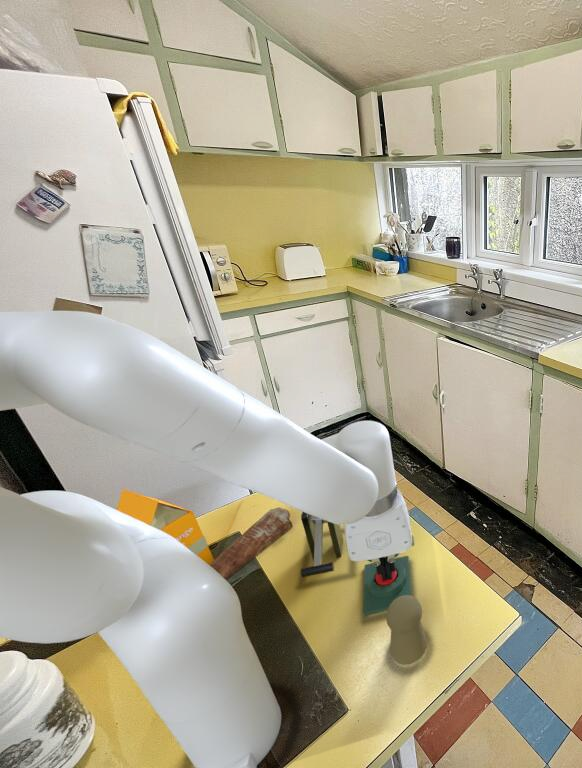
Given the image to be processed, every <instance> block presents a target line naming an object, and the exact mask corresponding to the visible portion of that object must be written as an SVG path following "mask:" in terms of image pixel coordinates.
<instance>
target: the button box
mask: <svg viewBox="0 0 582 768" xmlns="http://www.w3.org/2000/svg"><path fill="white" fill-rule="evenodd" d="M395 570H396V573H397V579H396V580H395V581H394V582H393V583H392V584H390V585H387V586H379V585H377V583H376V574H377V569H376V566H374V565H373V563H372V562H371V563H367V564H364V573H363V574H364V576H363V577H364V578H363V579H364V580H363V606H362V607H363V608H362V609H363V610H362V614H363V617H366V616H371V615H376V614H379V613H383V612H387V609H388V607H389V605H390V604H391V603H392V602H393V601H394V600H395V599H396V598H398V597H400V596H403V595H409V596H413V595H412V584H411V571H410V558H409V555H404V556H401V557H396V558H395Z"/></svg>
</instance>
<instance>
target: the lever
mask: <svg viewBox="0 0 582 768" xmlns="http://www.w3.org/2000/svg"><path fill="white" fill-rule="evenodd" d="M311 520H312V522H313V523H314V525H315V547H314V562H313V565H312V566H308V567H302V568H301V569H300V577H301V578H307V577H312V576H317V575H321V574H326V573H331V572H334V571H335V563H334V562H333V561H331V562H327V563H323V542H324V541H323V539H324V538H323V535H324V534H323V533H324V524H326V523H327V521H326V520H323V519H320V518H318V517H315V516H312V518H311ZM327 524H328V523H327Z"/></svg>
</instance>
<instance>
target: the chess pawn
mask: <svg viewBox="0 0 582 768" xmlns="http://www.w3.org/2000/svg"><path fill="white" fill-rule="evenodd" d="M422 616H423V608H422V605H421V602H420V601H419V599H418V598H417V597H415V596H413V595H412V596H409V595H403V596H400V597H398V598H396V599H395V600H394V601H393V602H392V603H391V604H390V605H389V607H388V609H387V611H386V615H385V620H386V625H387V626H388V628H389V629H390V656H391V657H392V659H393V661H394V662H396V663H397V664H399V665H403V666H405V665H406V666H407V665H411V664H414V663H416V662H417V661H419V660H420V659H421V658H422V657H423V656H424V654H425V653H426V650H427V647H428V639H427V638H428V637H427V635H426V632H425V630H424V627H423V624H422V621H421V620H422Z"/></svg>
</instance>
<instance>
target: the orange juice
mask: <svg viewBox="0 0 582 768" xmlns="http://www.w3.org/2000/svg"><path fill="white" fill-rule="evenodd" d="M115 510H117V511H120V512H122V513H124V514H126V515H128V516H130V517H133V518H135V519H137V520H139V521H141V522H144V523H146V524H148V525H150V526H152V527H154V528H156V529H159V530H161V531H163V532H165V533H167V534H168V535H170V536H172V537H173V538H175V539H176V540H178V541H179V542H180V543H182V544H183V545H184V546H185V547H187V548H188V549H189V550H190V551H191V552H193V553H194V554H195V555H196V556H198V557H200V558H201V559H202V560H203V561H204V562H206V563H207V564H208V565H210V564H211V563H212V562H213V561H214V560H215V559H214V556H213V554H212V552H211V550H210V547H209V545H208V542H207V540H206V537H205V535H204V534H203V532H202V529H201V527H200V525H199V523H198V520H197V518H196V516H195V514H194V511H193V510H191V509H187V508H185V507H183V506H179V505H177V504H174V503H170V502H168V501H165V500H163V499H159V498H154V497H151V496H148V495H145V494H143V495H142V494H140V493H136V492H133V491H131V490H128V489H125V488H122V490H121V494H120V496H119V500H118V504H117V506H116V509H115Z"/></svg>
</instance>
